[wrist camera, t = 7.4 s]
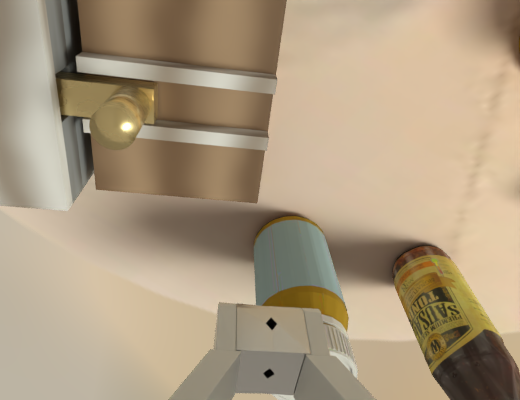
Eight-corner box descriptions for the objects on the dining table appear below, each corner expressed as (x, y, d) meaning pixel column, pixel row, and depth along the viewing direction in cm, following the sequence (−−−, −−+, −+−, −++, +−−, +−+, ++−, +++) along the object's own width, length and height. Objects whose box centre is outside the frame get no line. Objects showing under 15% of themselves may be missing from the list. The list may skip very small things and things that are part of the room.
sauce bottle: (411, 234, 40) (540, 444, 23) (461, 253, 41) (616, 462, 24) (375, 280, 43) (464, 495, 26) (422, 296, 44) (536, 509, 27)
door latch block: (283, -16, 28) (294, -8, 22) (255, 185, 36) (258, 226, 31) (-24, -59, 26) (-94, -63, 20) (21, 164, 34) (-20, 203, 28)
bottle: (238, 238, 39) (237, 377, 26) (297, 199, 37) (327, 329, 24) (281, 279, 42) (299, 421, 29) (337, 245, 40) (383, 382, 27)
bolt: (157, 81, 27) (139, 110, 22) (157, 117, 29) (140, 152, 24) (20, 65, 27) (-33, 92, 21) (26, 103, 28) (-22, 137, 23)
